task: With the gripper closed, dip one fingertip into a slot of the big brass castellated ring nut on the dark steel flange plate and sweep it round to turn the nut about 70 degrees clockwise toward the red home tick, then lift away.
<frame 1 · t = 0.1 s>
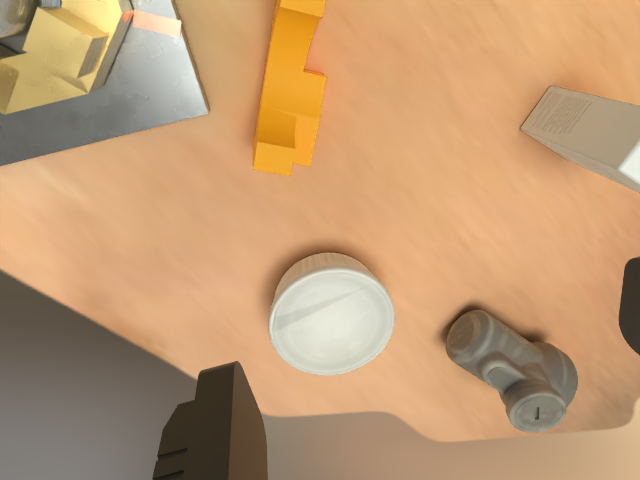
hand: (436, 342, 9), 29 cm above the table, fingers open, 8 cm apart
pipe clamp: (293, 73, 35), on the table
skincare box: (556, 122, 39), on the table
ramekin: (324, 291, 44), on the table
pipe fitting: (488, 336, 49), on the table
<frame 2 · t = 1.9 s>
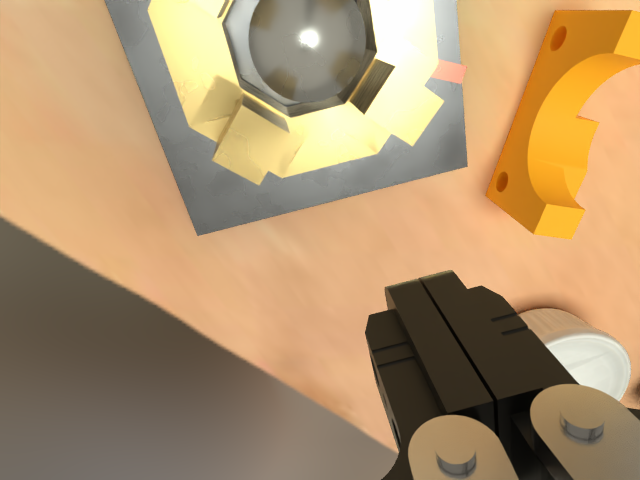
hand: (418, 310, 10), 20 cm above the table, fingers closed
pipe clamp: (542, 115, 30), on the table
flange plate: (294, 34, 26), on the table
ramekin: (526, 347, 40), on the table
ring nut: (302, 39, 21), point 5 cm above the table, hinge at 0.0°
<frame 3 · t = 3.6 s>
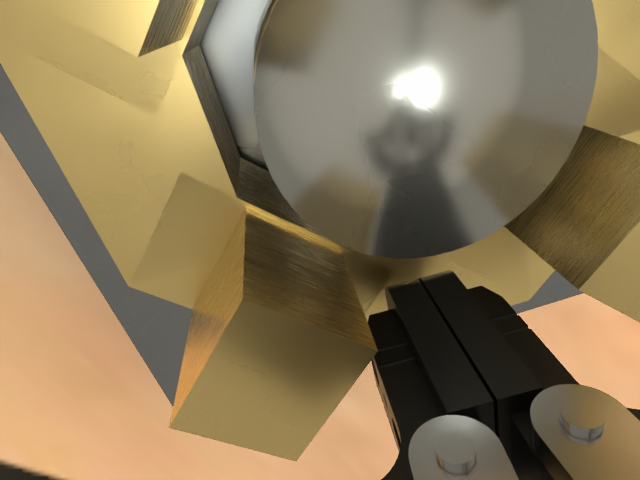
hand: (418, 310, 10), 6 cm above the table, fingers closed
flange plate: (340, 57, 13), on the table
ring nut: (387, 82, 8), point 5 cm above the table, hinge at -0.6°, touching gripper
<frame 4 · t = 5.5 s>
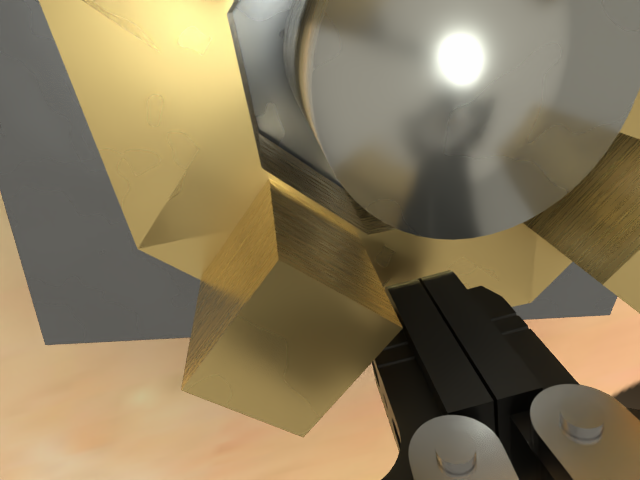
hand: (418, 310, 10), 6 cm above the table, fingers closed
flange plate: (365, 46, 13), on the table
ring nut: (428, 66, 9), point 5 cm above the table, hinge at -78.6°, touching gripper
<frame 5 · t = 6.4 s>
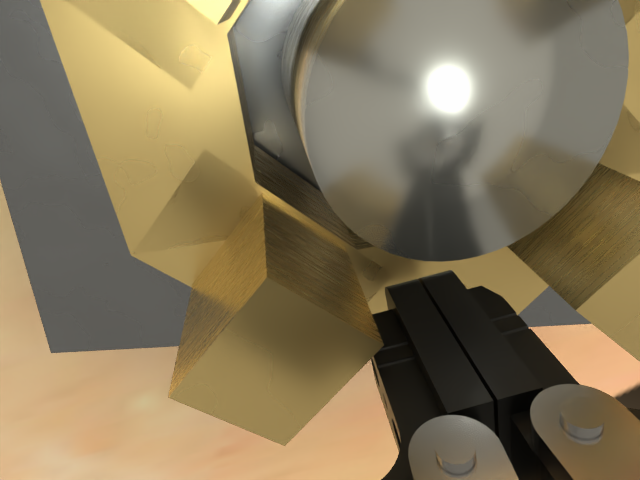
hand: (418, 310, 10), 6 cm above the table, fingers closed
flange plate: (362, 63, 13), on the table
ring nut: (419, 92, 9), point 5 cm above the table, hinge at -81.2°
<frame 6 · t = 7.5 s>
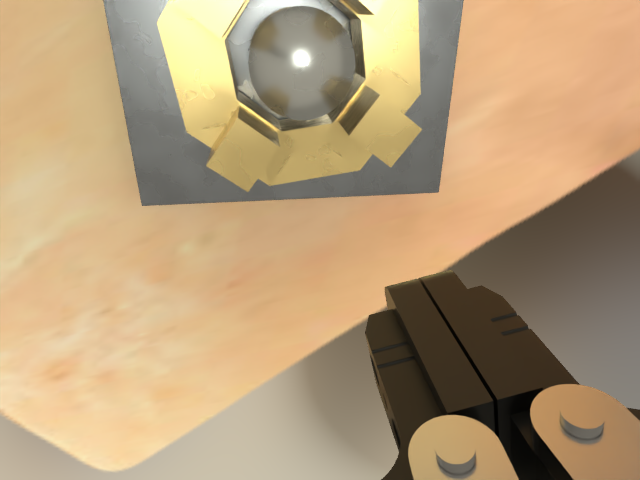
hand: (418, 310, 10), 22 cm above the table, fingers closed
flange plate: (290, 52, 28), on the table
ring nut: (298, 61, 23), point 5 cm above the table, hinge at -82.2°
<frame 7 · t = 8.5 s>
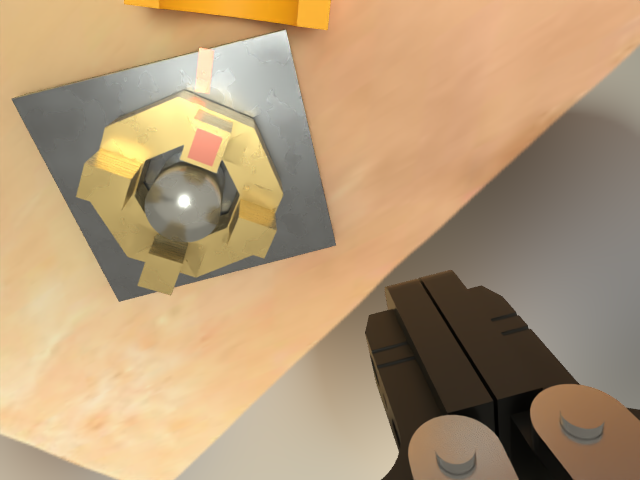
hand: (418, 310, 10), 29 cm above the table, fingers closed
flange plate: (195, 174, 38), on the table
ring nut: (187, 197, 33), point 5 cm above the table, hinge at -82.2°
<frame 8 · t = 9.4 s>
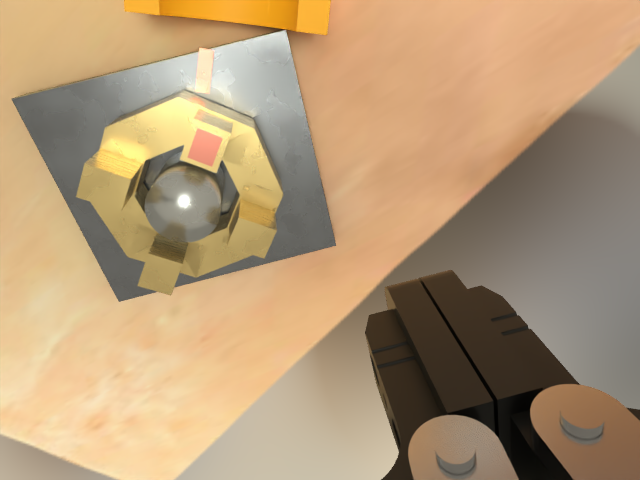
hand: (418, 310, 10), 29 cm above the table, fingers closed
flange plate: (195, 174, 38), on the table
ring nut: (187, 197, 33), point 5 cm above the table, hinge at -82.2°
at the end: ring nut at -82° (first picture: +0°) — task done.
